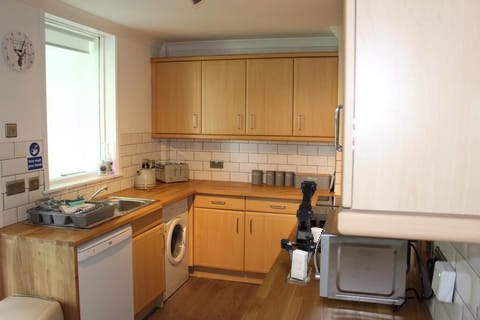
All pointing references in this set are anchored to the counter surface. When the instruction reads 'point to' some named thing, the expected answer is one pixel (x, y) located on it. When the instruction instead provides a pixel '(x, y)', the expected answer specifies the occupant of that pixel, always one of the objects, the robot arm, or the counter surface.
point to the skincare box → (299, 264)
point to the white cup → (316, 233)
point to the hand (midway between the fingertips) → (299, 263)
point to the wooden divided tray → (298, 281)
